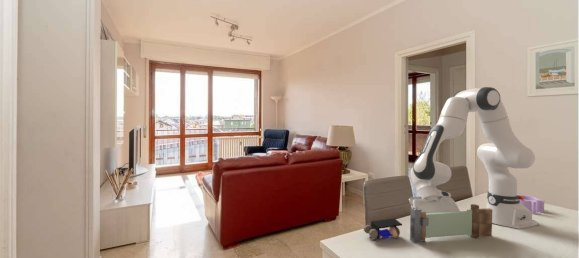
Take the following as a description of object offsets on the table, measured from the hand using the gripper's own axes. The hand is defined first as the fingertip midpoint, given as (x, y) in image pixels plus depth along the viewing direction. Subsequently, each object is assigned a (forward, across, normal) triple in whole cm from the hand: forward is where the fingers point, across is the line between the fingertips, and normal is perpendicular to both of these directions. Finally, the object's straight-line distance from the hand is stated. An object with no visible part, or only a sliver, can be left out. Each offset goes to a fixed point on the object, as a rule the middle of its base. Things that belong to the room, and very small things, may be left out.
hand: (441, 225), depth 114 cm
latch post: (+6, -12, +2) cm, 13 cm away
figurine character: (+3, -26, +5) cm, 26 cm away
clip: (-20, +69, +28) cm, 77 cm away
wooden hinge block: (+4, +18, +4) cm, 19 cm away
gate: (+4, +1, +2) cm, 5 cm away
